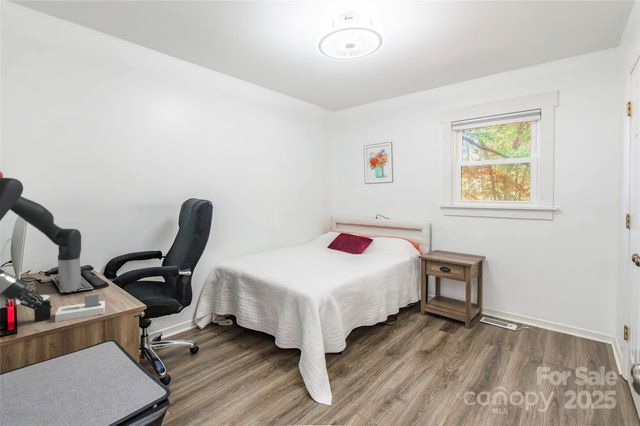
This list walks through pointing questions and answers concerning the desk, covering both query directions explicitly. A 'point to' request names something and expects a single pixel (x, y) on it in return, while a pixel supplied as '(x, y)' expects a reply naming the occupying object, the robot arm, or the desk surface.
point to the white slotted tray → (81, 309)
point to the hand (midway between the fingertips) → (49, 309)
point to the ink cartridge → (40, 314)
